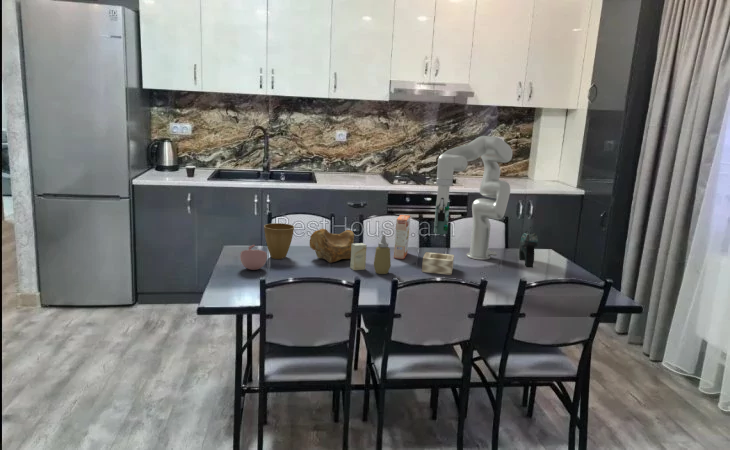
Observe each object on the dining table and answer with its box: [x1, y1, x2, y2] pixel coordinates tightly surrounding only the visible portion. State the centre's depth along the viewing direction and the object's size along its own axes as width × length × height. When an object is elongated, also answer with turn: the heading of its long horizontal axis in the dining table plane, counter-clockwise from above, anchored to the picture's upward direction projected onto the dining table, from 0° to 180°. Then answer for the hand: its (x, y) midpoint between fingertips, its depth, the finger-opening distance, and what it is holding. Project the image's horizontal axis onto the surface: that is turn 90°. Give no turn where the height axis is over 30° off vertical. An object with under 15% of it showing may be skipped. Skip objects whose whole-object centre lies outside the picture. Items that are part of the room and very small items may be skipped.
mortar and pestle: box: [239, 244, 268, 271], centre depth 251 cm, size 12×12×11 cm
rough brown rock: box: [309, 228, 355, 264], centre depth 273 cm, size 23×17×15 cm
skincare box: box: [349, 242, 367, 271], centre depth 260 cm, size 6×4×12 cm
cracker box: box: [393, 214, 411, 260], centre depth 287 cm, size 14×6×21 cm, turn 168°
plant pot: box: [263, 222, 295, 260], centre depth 273 cm, size 15×15×16 cm
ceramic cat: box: [518, 226, 539, 268], centre depth 285 cm, size 20×6×20 cm, turn 177°
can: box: [433, 201, 450, 235], centre depth 261 cm, size 6×6×15 cm
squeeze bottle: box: [373, 234, 392, 275], centre depth 255 cm, size 8×8×18 cm
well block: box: [421, 251, 455, 276], centre depth 265 cm, size 14×12×7 cm
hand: (441, 219), depth 261 cm, fingers closed on can, 6 cm apart
